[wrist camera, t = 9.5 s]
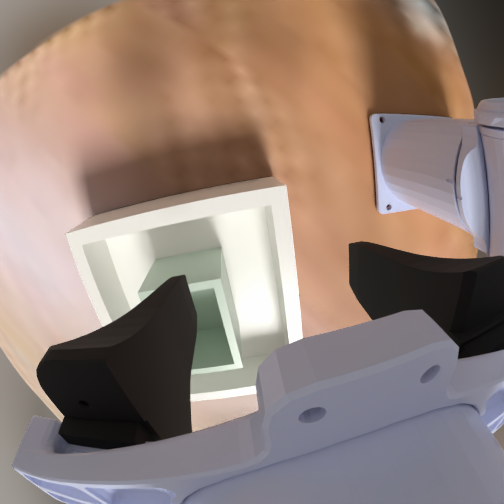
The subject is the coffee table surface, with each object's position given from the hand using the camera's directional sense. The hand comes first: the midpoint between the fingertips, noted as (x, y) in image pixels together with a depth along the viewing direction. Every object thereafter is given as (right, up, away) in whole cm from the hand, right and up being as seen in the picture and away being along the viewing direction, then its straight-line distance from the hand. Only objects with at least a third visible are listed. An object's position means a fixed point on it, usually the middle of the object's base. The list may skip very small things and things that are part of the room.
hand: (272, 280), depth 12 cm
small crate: (-5, -2, +9) cm, 11 cm away
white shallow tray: (-5, -2, +11) cm, 12 cm away
